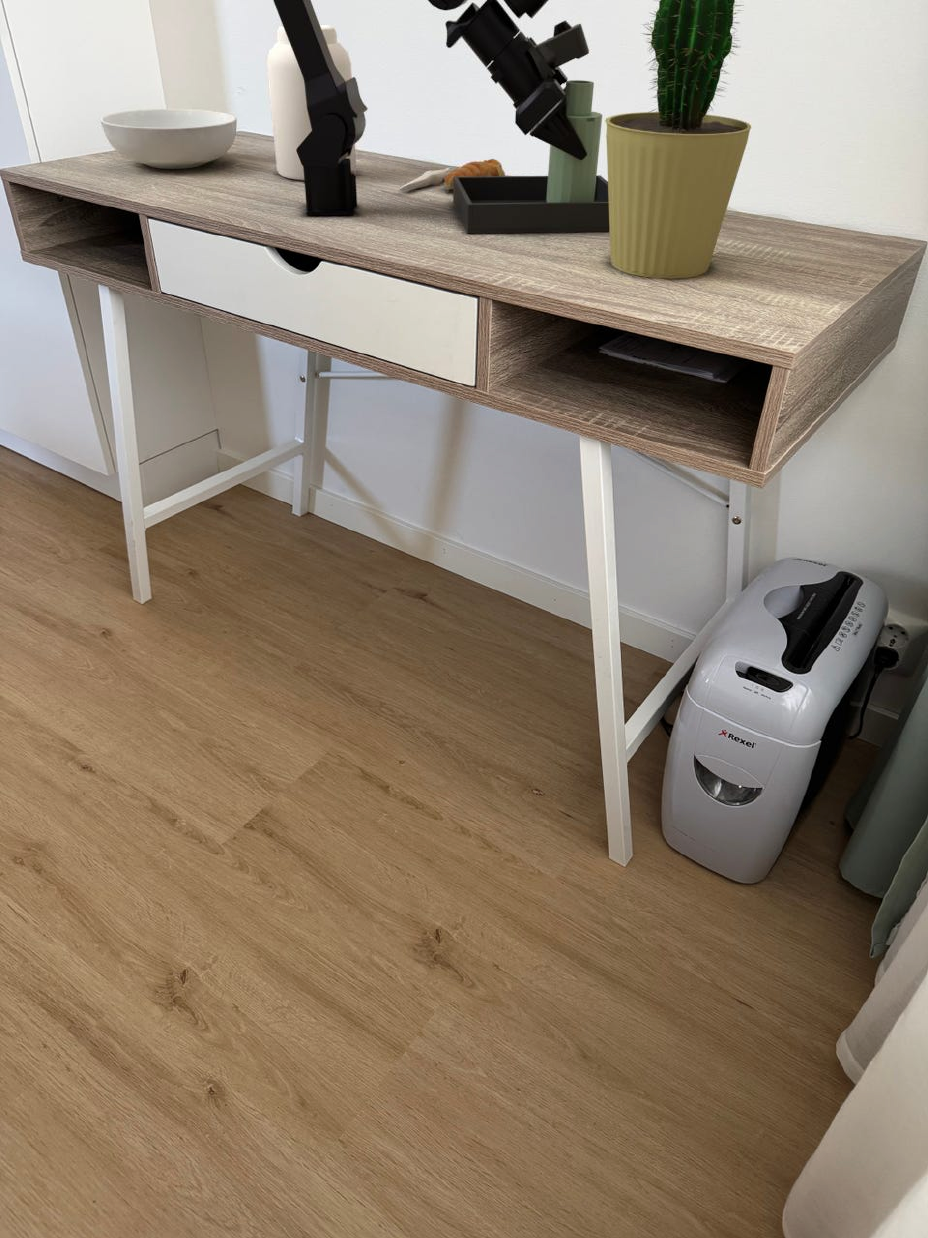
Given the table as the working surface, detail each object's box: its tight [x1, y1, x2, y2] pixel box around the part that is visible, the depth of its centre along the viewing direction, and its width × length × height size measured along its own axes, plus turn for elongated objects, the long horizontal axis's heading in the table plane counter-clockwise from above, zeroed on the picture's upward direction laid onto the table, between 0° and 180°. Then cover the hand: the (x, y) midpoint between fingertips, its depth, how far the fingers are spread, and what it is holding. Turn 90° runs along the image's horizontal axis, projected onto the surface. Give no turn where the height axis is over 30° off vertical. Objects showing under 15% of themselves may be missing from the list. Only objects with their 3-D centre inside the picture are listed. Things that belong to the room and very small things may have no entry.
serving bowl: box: [100, 108, 238, 170], centre depth 150 cm, size 21×21×7 cm
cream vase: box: [266, 24, 357, 181], centre depth 141 cm, size 12×12×20 cm
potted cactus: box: [604, 0, 752, 279], centre depth 99 cm, size 15×15×30 cm
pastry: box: [443, 158, 506, 190], centre depth 138 cm, size 9×7×4 cm
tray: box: [452, 174, 610, 235], centre depth 125 cm, size 21×17×4 cm
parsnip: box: [399, 167, 451, 192], centre depth 141 cm, size 15×3×2 cm, turn 152°
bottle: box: [546, 79, 603, 203], centre depth 119 cm, size 6×6×14 cm
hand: (584, 152), depth 119 cm, fingers closed on bottle, 6 cm apart
